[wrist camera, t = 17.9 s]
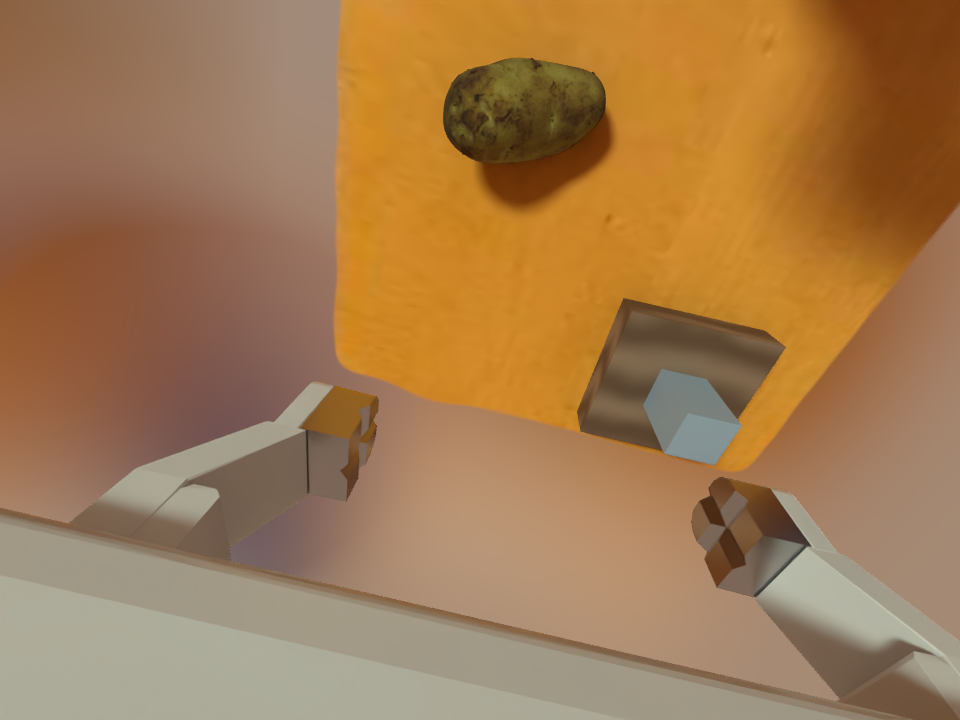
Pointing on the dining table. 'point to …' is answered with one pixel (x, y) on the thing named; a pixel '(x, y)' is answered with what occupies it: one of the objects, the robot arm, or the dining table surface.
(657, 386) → the block
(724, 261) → the dining table surface
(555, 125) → the potato
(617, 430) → the plinth
